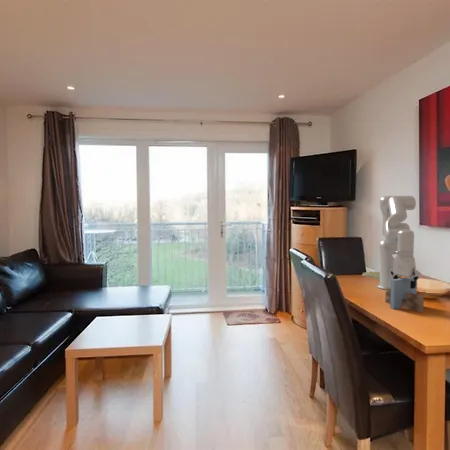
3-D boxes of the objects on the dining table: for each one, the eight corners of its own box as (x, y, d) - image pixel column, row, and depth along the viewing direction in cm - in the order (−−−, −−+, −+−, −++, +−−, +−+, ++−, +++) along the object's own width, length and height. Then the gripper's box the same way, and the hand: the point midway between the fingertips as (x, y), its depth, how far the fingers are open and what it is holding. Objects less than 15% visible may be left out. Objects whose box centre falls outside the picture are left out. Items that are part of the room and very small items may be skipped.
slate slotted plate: (393, 309, 173) (394, 280, 172) (390, 308, 175) (391, 279, 174) (416, 305, 181) (417, 277, 180) (412, 304, 183) (413, 276, 182)
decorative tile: (401, 279, 247) (401, 274, 247) (380, 281, 240) (380, 276, 240) (381, 274, 265) (381, 270, 265) (361, 276, 258) (361, 271, 258)
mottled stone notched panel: (385, 302, 186) (385, 287, 186) (388, 301, 187) (388, 287, 187) (420, 312, 168) (420, 296, 168) (423, 311, 170) (423, 296, 169)
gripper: (385, 252, 182) (384, 283, 183) (416, 256, 167) (415, 290, 168) (395, 251, 186) (394, 282, 187) (425, 255, 170) (424, 289, 171)
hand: (404, 286), depth 177 cm, fingers open, 9 cm apart
